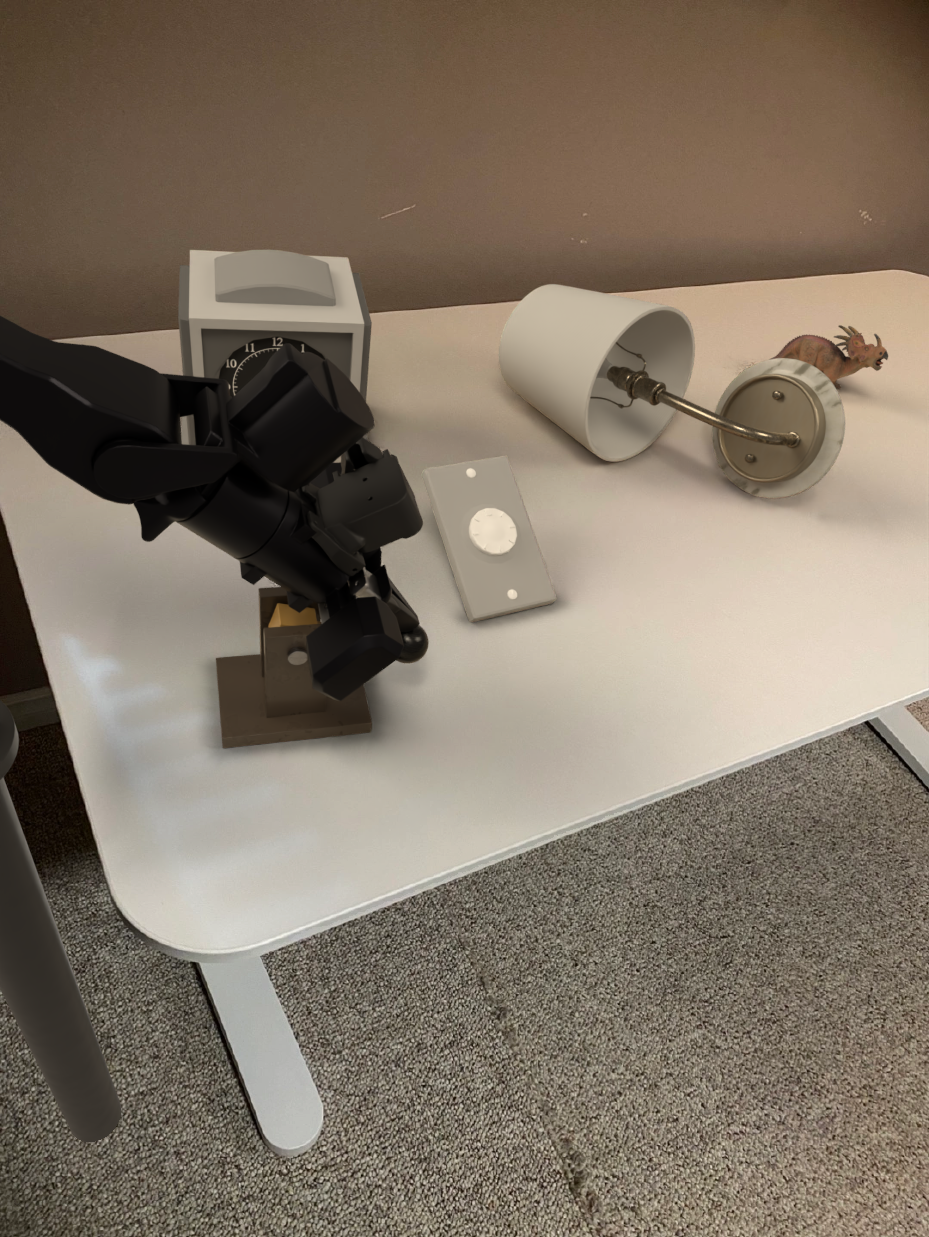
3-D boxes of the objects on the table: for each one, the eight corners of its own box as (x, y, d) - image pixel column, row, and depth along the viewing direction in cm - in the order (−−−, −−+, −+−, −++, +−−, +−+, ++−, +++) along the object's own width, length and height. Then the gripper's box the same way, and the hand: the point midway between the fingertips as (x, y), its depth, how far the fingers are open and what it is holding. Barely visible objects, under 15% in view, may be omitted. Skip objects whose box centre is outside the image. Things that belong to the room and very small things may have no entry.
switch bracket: (354, 655, 76) (361, 567, 69) (371, 732, 71) (380, 644, 64) (216, 667, 73) (209, 576, 67) (222, 748, 68) (215, 658, 61)
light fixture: (709, 542, 84) (465, 407, 103) (802, 531, 97) (570, 413, 117) (788, 360, 77) (510, 252, 96) (877, 375, 90) (617, 277, 110)
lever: (414, 644, 73) (430, 615, 71) (423, 674, 71) (439, 646, 69) (265, 624, 68) (278, 593, 66) (269, 657, 66) (283, 625, 64)
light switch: (477, 616, 79) (426, 463, 82) (455, 635, 84) (408, 491, 87) (562, 596, 82) (511, 449, 85) (536, 615, 88) (489, 477, 91)
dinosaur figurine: (859, 389, 121) (891, 324, 115) (861, 412, 117) (895, 345, 111) (756, 363, 123) (782, 297, 116) (754, 384, 119) (781, 317, 112)
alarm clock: (181, 476, 90) (165, 296, 77) (183, 401, 99) (168, 229, 86) (371, 475, 94) (385, 304, 81) (356, 403, 103) (366, 239, 90)
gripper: (375, 539, 50) (535, 656, 61) (327, 360, 63) (466, 482, 73) (234, 653, 54) (408, 745, 64) (215, 461, 66) (363, 565, 77)
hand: (414, 624), depth 69 cm, fingers closed, pressing on switch bracket
